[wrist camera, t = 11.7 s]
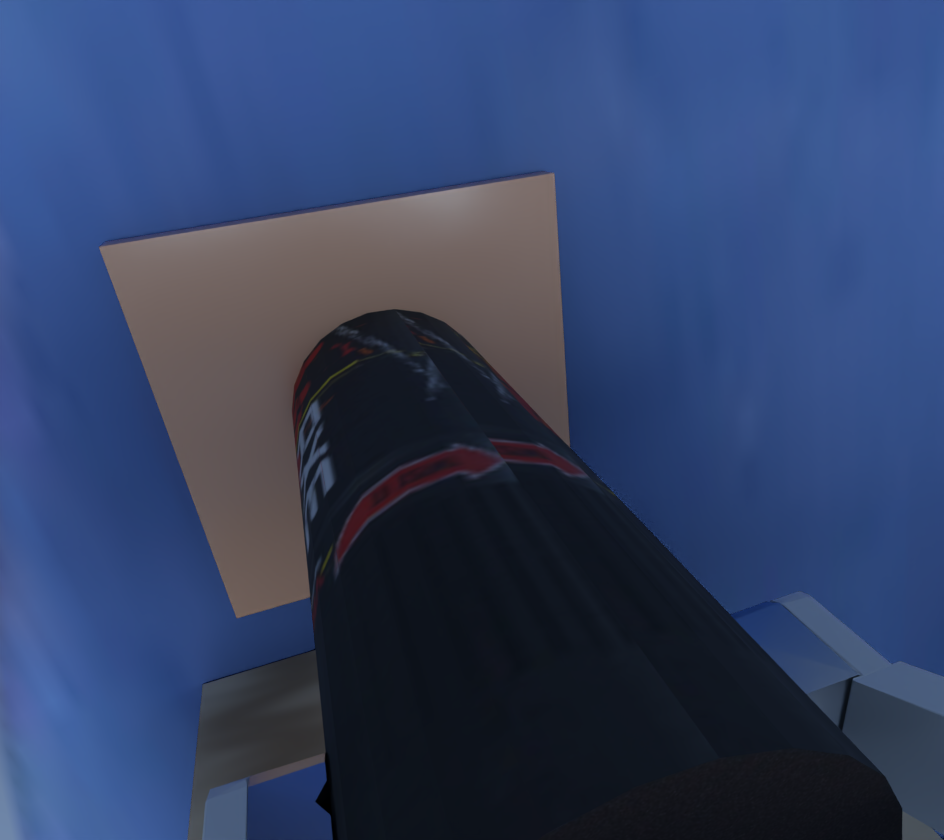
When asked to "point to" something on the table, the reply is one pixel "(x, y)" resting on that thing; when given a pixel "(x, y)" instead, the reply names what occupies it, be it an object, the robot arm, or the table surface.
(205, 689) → the crate
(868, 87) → the table surface
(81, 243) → the table surface
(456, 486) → the deodorant
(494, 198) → the tile
